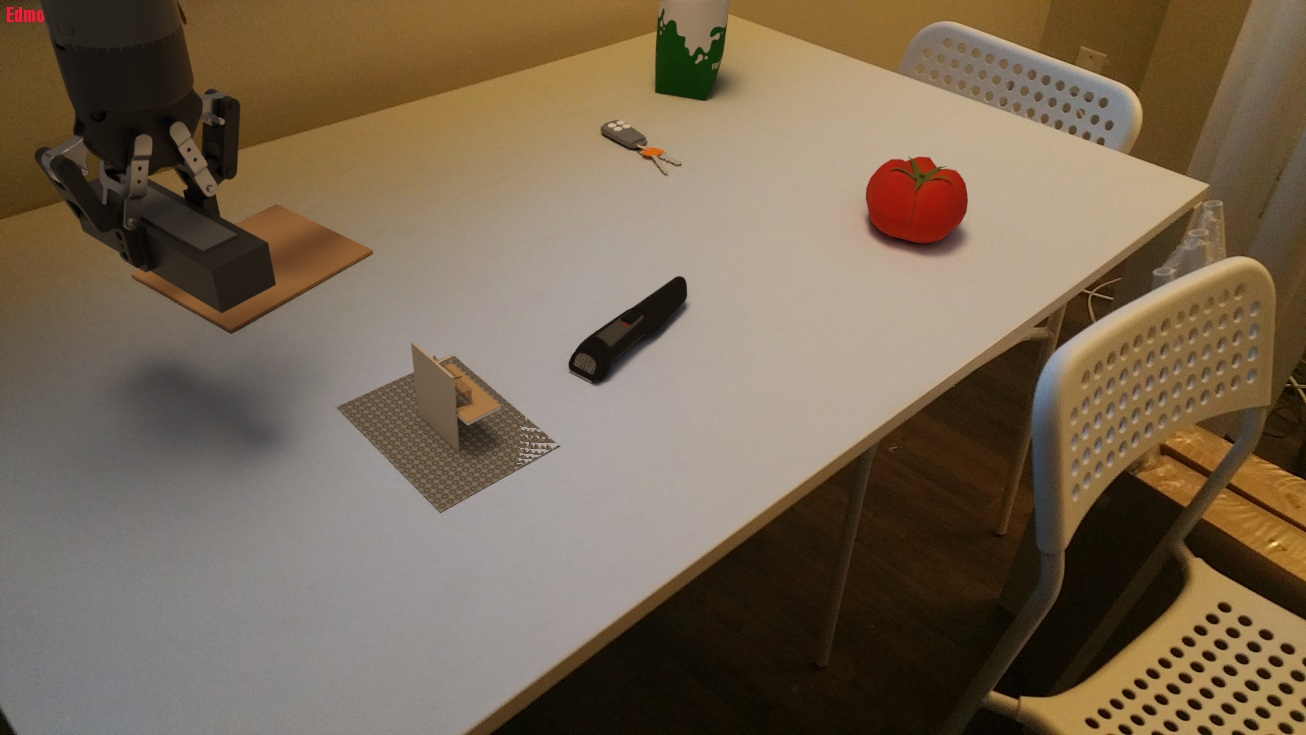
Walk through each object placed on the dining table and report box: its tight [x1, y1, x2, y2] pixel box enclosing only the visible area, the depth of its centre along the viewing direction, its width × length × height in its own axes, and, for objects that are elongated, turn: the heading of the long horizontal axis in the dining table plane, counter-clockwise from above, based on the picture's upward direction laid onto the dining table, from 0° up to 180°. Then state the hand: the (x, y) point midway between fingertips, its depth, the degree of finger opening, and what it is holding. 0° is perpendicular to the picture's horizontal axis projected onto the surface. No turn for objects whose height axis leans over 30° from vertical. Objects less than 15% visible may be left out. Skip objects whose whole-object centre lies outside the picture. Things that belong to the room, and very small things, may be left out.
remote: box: [78, 174, 276, 313], centre depth 71 cm, size 16×5×4 cm, turn 56°
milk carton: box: [654, 0, 731, 101], centre depth 129 cm, size 9×9×20 cm
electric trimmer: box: [568, 275, 688, 384], centre depth 90 cm, size 4×16×3 cm, turn 145°
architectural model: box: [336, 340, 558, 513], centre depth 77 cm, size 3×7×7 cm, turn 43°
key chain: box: [600, 119, 683, 175], centre depth 119 cm, size 13×4×2 cm, turn 41°
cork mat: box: [130, 203, 374, 334], centre depth 95 cm, size 14×17×1 cm
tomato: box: [865, 156, 969, 244], centre depth 108 cm, size 11×11×8 cm
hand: (175, 251), depth 72 cm, fingers closed on remote, 4 cm apart
